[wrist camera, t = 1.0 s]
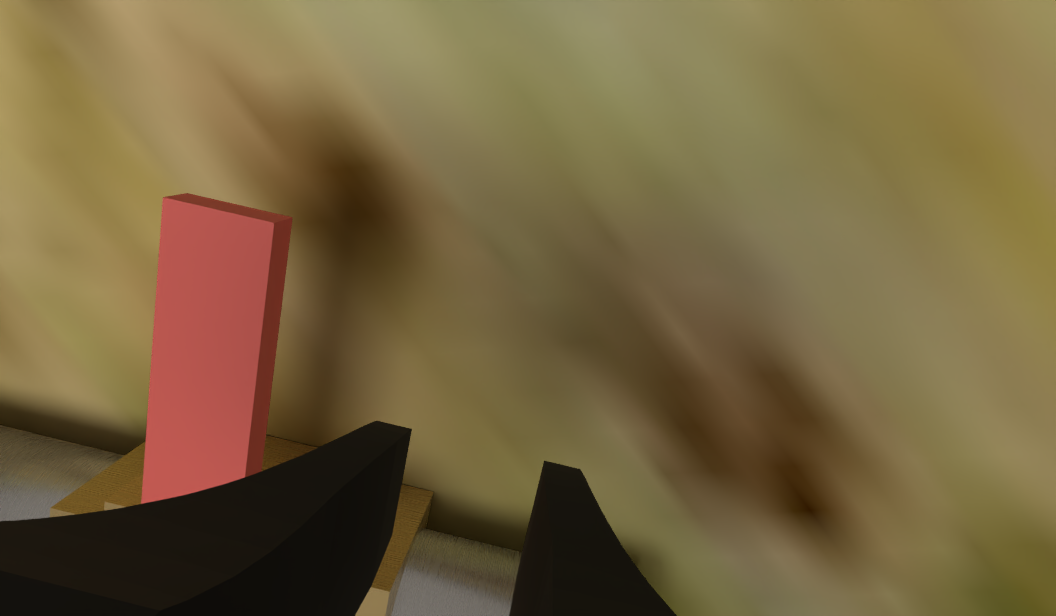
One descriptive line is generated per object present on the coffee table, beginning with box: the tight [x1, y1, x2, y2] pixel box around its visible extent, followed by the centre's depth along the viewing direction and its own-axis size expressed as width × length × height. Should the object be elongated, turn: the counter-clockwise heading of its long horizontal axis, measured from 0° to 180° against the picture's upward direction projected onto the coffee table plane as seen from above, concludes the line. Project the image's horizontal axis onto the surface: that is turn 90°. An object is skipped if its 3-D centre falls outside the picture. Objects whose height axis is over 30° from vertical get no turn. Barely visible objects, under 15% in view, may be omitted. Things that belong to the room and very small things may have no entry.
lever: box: [141, 193, 292, 504], centre depth 17 cm, size 14×4×1 cm, turn 168°
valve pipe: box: [0, 425, 522, 616], centre depth 22 cm, size 26×6×6 cm, turn 78°
